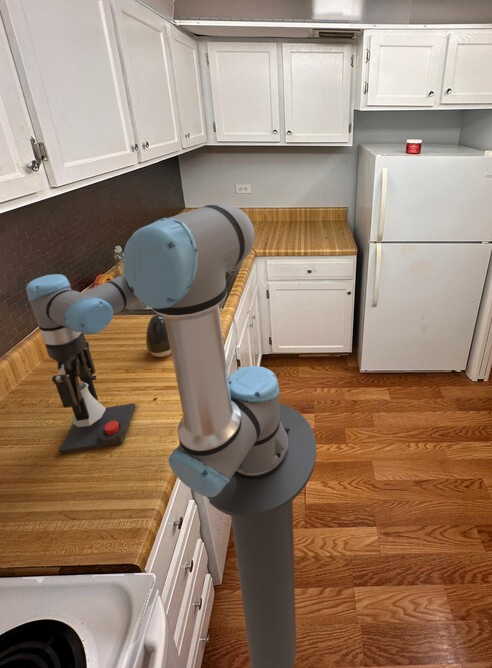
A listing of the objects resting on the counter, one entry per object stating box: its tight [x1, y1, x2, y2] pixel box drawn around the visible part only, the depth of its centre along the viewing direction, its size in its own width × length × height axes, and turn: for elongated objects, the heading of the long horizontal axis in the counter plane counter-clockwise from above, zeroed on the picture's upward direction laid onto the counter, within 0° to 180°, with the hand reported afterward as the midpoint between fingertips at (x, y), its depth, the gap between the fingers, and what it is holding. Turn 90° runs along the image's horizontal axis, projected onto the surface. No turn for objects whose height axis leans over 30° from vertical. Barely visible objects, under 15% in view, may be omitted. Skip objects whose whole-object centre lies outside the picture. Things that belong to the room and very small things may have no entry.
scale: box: [58, 402, 136, 455], centre depth 88 cm, size 14×12×3 cm
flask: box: [71, 382, 106, 427], centre depth 86 cm, size 7×7×10 cm
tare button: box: [104, 421, 119, 435], centre depth 85 cm, size 3×3×2 cm
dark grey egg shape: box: [145, 313, 172, 358], centre depth 115 cm, size 10×10×15 cm
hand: (87, 409), depth 87 cm, fingers closed on flask, 5 cm apart
